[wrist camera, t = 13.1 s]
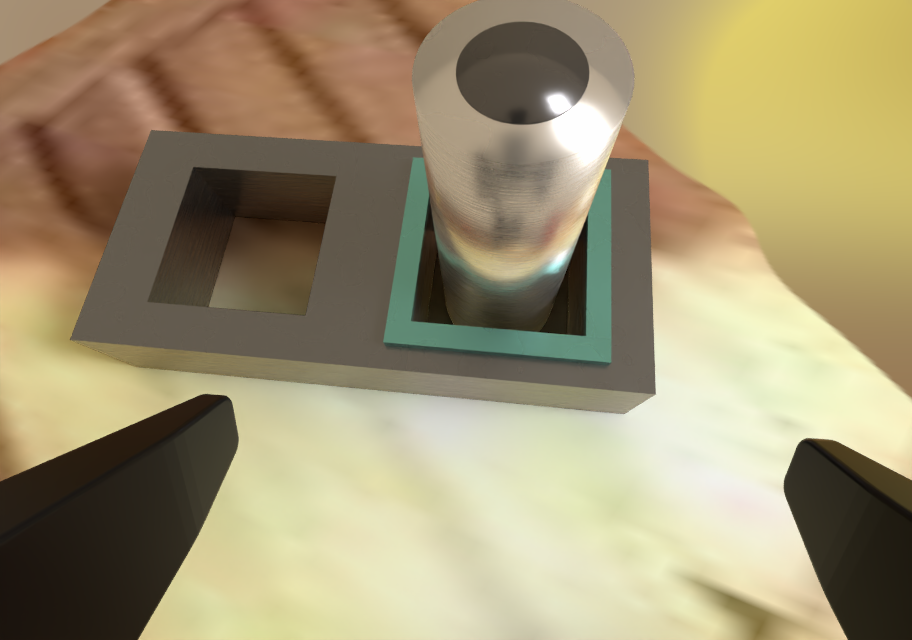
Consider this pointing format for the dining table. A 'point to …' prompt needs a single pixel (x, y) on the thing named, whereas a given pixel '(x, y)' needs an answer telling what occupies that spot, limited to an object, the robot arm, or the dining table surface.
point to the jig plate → (360, 279)
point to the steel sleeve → (515, 148)
